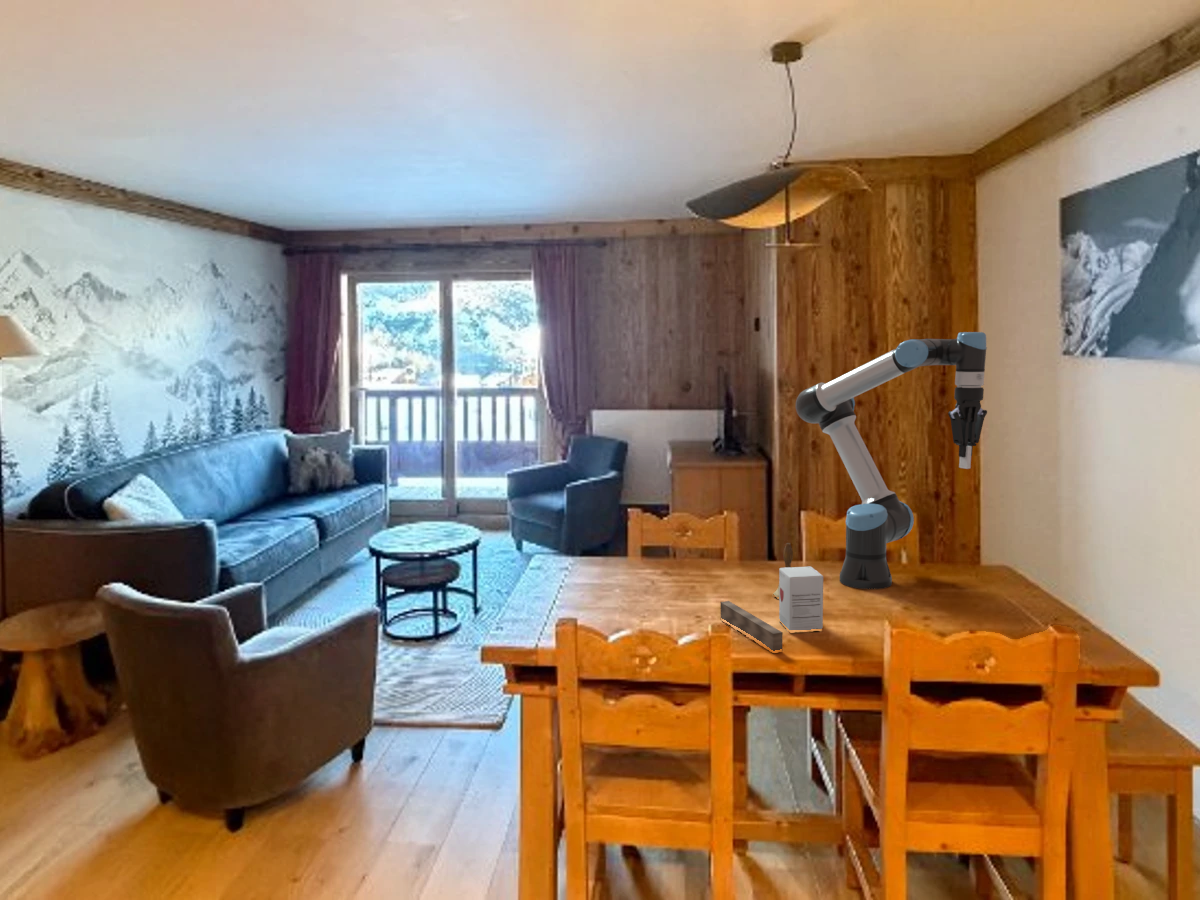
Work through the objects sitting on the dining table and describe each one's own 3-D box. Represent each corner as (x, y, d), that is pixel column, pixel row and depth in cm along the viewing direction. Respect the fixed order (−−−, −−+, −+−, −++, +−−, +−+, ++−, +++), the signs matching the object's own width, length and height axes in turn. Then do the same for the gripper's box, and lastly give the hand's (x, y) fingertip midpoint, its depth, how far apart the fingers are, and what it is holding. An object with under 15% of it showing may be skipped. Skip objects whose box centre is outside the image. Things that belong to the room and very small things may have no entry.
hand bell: (804, 594, 234) (804, 541, 232) (798, 602, 227) (799, 547, 225) (776, 591, 238) (776, 538, 236) (769, 599, 231) (769, 545, 228)
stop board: (720, 620, 214) (720, 602, 213) (728, 618, 215) (728, 600, 214) (773, 654, 190) (773, 633, 189) (782, 652, 191) (782, 632, 190)
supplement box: (778, 622, 211) (778, 567, 210) (811, 620, 212) (811, 565, 210) (789, 634, 202) (789, 576, 201) (823, 632, 203) (824, 575, 201)
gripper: (963, 388, 222) (958, 471, 225) (996, 386, 227) (991, 468, 231) (941, 386, 229) (937, 467, 232) (975, 385, 234) (970, 464, 237)
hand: (964, 467), depth 231 cm, fingers closed
